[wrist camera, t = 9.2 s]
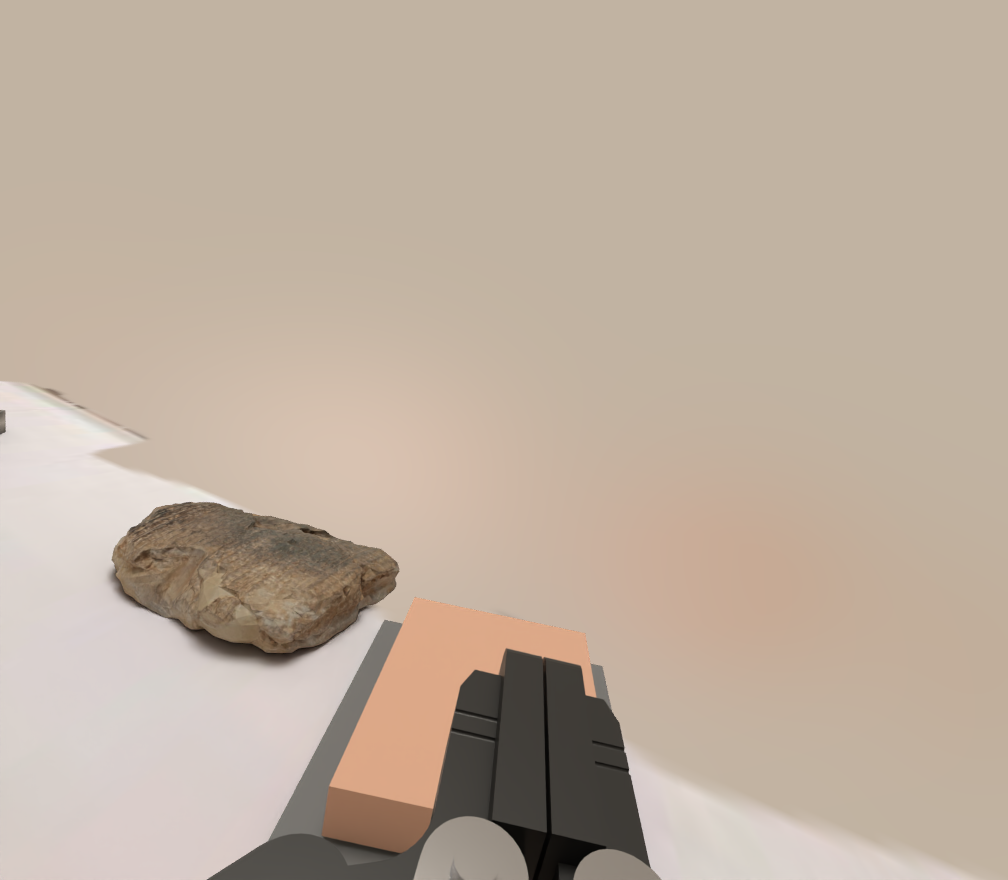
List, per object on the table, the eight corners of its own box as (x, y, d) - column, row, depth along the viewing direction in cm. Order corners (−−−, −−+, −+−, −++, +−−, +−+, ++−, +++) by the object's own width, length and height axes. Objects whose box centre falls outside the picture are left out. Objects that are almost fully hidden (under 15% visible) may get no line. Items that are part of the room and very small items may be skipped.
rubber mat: (227, 928, 18) (229, 916, 18) (383, 627, 36) (384, 619, 36) (671, 1027, 18) (676, 1015, 17) (600, 673, 36) (602, 666, 36)
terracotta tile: (328, 785, 20) (414, 597, 35) (320, 841, 21) (408, 632, 35) (623, 850, 20) (585, 633, 35) (606, 904, 21) (576, 668, 35)
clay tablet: (51, 577, 35) (277, 687, 29) (54, 511, 34) (287, 610, 28) (223, 524, 48) (403, 592, 42) (228, 475, 47) (412, 538, 41)
